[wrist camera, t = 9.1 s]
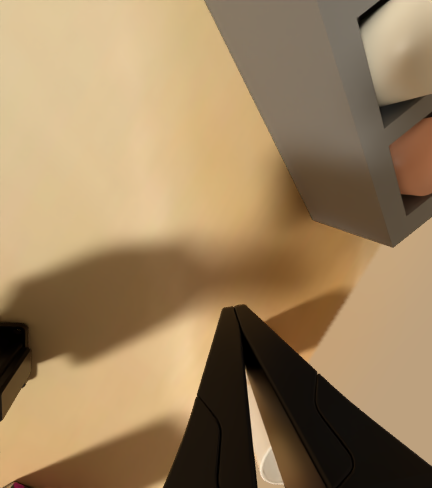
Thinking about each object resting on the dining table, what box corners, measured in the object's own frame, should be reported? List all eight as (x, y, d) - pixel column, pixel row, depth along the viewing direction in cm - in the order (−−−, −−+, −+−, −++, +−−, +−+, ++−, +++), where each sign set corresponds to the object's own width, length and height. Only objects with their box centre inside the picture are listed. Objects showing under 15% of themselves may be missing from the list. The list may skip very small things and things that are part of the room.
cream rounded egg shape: (341, 128, 14) (420, 113, 10) (316, 54, 12) (400, -3, 8) (395, 86, 14) (495, 53, 10) (378, 5, 12) (493, -77, 8)
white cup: (287, 318, 25) (362, 402, 16) (276, 369, 28) (336, 466, 19) (224, 326, 23) (269, 429, 14) (218, 380, 26) (253, 497, 17)
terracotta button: (351, 199, 18) (411, 210, 14) (333, 152, 16) (396, 147, 12) (393, 166, 18) (465, 166, 14) (380, 114, 16) (460, 97, 12)
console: (312, 220, 22) (393, 247, 14) (190, -27, 13) (236, -259, 6) (375, 170, 22) (486, 173, 14) (293, -108, 13) (461, -437, 6)
